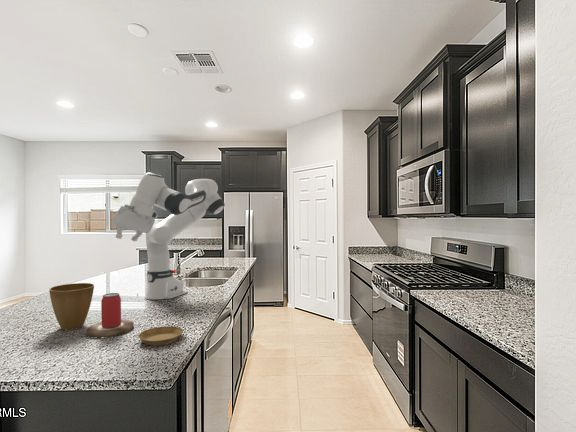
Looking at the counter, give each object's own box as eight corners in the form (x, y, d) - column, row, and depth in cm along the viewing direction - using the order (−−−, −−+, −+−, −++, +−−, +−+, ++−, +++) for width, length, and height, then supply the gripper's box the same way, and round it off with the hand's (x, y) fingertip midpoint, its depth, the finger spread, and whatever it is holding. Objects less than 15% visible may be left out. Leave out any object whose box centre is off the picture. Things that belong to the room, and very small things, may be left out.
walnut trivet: (117, 321, 138) (117, 317, 138) (142, 327, 130) (142, 323, 129) (77, 333, 124) (77, 328, 124) (101, 341, 116) (101, 336, 116)
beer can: (125, 324, 129) (124, 293, 129) (110, 329, 122) (110, 297, 122) (112, 322, 131) (112, 292, 131) (97, 327, 125) (97, 295, 125)
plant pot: (46, 336, 121) (45, 292, 121) (53, 324, 134) (52, 285, 134) (93, 329, 128) (93, 287, 128) (95, 318, 141) (95, 281, 141)
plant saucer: (168, 330, 127) (168, 323, 127) (192, 338, 118) (192, 331, 118) (130, 342, 115) (129, 334, 115) (153, 352, 106) (153, 344, 106)
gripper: (129, 206, 128) (113, 239, 127) (160, 215, 148) (147, 244, 147) (116, 200, 130) (101, 233, 129) (149, 211, 150) (136, 239, 148)
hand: (126, 239), depth 138 cm, fingers open, 8 cm apart
